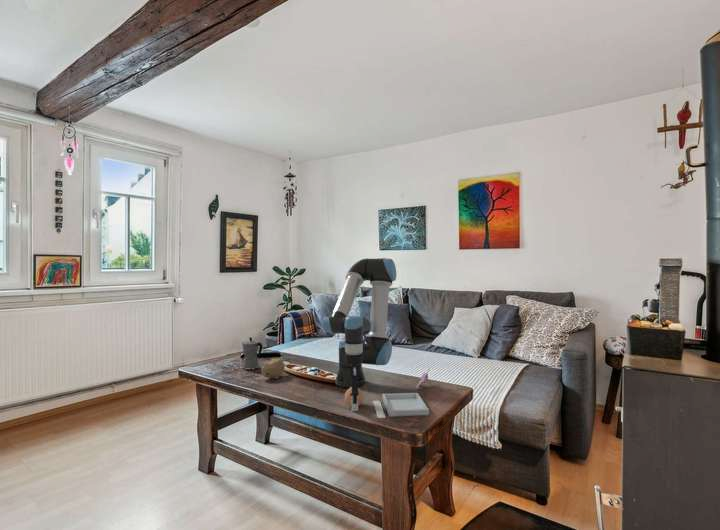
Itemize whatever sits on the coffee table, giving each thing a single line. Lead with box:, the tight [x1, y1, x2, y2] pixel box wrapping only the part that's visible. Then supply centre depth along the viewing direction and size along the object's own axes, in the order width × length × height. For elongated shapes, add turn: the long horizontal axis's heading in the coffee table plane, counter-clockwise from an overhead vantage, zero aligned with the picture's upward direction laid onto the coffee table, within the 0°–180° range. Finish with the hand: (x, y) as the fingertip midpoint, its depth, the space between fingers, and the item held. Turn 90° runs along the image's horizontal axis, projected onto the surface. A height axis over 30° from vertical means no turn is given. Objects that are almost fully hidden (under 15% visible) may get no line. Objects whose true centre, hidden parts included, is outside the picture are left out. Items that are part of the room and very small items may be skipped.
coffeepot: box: [241, 336, 264, 369], centre depth 218 cm, size 15×9×18 cm, turn 62°
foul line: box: [372, 400, 387, 419], centre depth 154 cm, size 18×3×1 cm, turn 4°
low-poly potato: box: [260, 357, 286, 379], centre depth 199 cm, size 15×11×12 cm
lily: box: [415, 367, 434, 390], centre depth 181 cm, size 12×12×10 cm
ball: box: [344, 387, 365, 407], centre depth 157 cm, size 8×8×8 cm
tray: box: [381, 392, 430, 418], centre depth 157 cm, size 20×16×2 cm
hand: (354, 406), depth 157 cm, fingers open, 9 cm apart
